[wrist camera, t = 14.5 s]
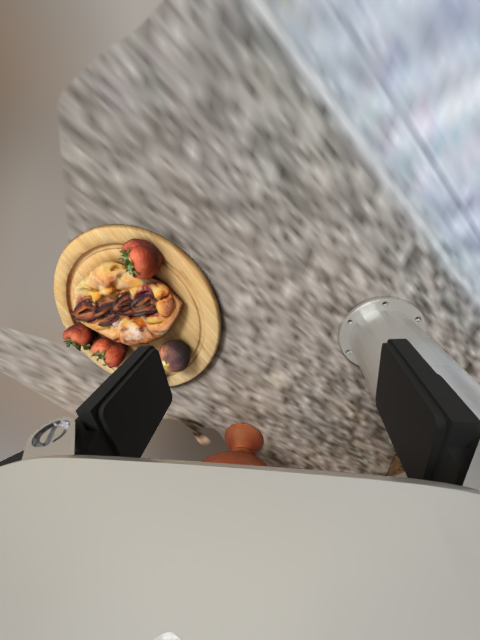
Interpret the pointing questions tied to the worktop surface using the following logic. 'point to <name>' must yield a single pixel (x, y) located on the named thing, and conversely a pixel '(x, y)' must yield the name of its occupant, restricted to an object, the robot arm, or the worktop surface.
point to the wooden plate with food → (136, 300)
